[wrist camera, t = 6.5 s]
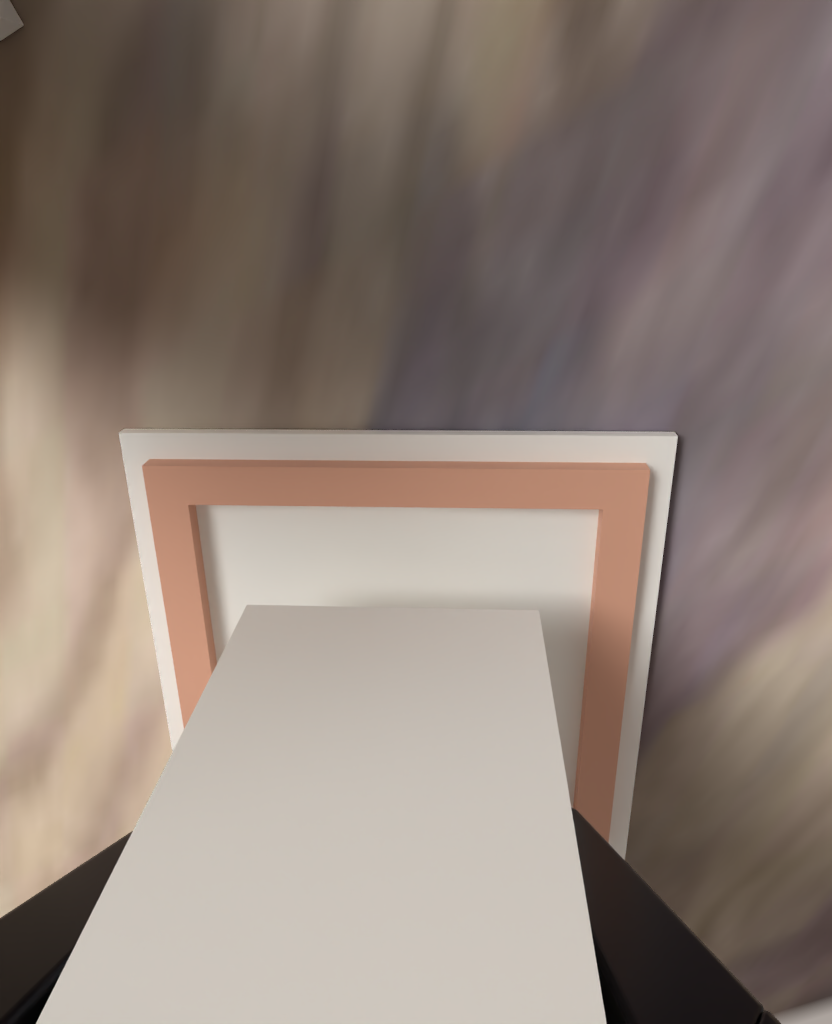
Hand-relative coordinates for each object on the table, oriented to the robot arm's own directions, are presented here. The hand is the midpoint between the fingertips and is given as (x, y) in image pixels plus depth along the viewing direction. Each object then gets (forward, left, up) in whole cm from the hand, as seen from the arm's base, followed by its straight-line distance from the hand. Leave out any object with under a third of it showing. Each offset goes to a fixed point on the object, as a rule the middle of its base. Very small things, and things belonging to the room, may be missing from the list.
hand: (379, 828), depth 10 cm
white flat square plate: (0, 0, -4) cm, 4 cm away
